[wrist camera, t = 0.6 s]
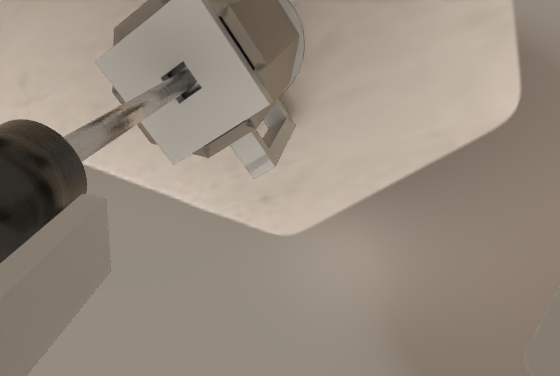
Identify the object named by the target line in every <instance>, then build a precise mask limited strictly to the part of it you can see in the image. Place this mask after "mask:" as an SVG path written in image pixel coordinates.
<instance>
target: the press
mask: <svg viewBox="0 0 560 376" xmlns="http://www.w3.org/2000/svg"><path fill="white" fill-rule="evenodd" d="M303 55H304V33H303V29H302V25H301V22H300V19H299V17H298V15H297V13H296V11H295V9H294V7H293V6H292V5H291V3H290V2H289V1H288V0H148V1H147V2H146V3H144V4H143V5H142V6H141V7H139V8H138V9H137V10H136V11H135V12H133V13H132V14H131V15H130V16H129V17H127V18H126V19H125V20H124V21H123V22H121V23H120V24H119V25H118V26H117V27H115V28H114V47H113V48H111V49H110V50H109V51H108V52H106V53H105V54H104V55H103V56H101V57H100V58H99V59H98V60H96V61H95V62H96V64H97V65H98V66H99V68H100V69H101V70H102V72H103V73H104V74H105V76H106V77H107V78H108V80H109V81H110V82H111V83H112V85H113V88H112V92H113V94H114V95H115V96H116V98H117V99H118V100H119V102H120V103H121V104H124V103H126V102H128V101H129V100H131V99H133V98H135V97H137V96H138V95H140V94H142V93H144V92H146V91H147V90H149V89H151V88H153V87H154V86H156V85H158V84H160V83H162V82H163V81H165V80H167V79H169V77H168V76H167V74H168V73H169V72H171V71H172V70H173V69H175V68H176V67H177V66H179V65H180V64H182V63H183V62H184V63H185V64H186V66H187V67H188V69H189V70H190V71H191V73H192V74H193V76H194V77H195V79H196V80H197V81H198V83H199V84H200V86H201V87H202V88H201V89H200V90H198V91H197V92H195V93H194V94H192V95H191V96H189V97H188V98H187V99H185V100H184V98H183V97H182V95H180V96H178V97H177V98H175V99H174V100H172V101H171V102H169V103H168V104H166V105H165V106H163V107H162V108H160V109H159V110H157V111H156V112H154V113H153V114H152V115H150V116H149V117H147V118H146V119H144V120H143V121H141V122H140V123H138V124H137V125H138V127H139V128H140V129H141V131H142V132H143V133H144V134H145V136H146V137H147V138H148V140H149V141H150V142H151V143H152V144H156V145H158V146H159V147H160V148H161V149H162V151H163V152H164V153H165V155H166V156H167V157H168V159H169V160H170V161H171V163H172V164H173V165H174V164H176V163H177V162H179V161H181V160H182V159H184V158H185V157H187V156H189V155H190V154H195V155H199V156H203V157H207V158H209V157H211V156H212V155H214V154H216V153H217V152H219V151H220V150H222V149H224V148H225V147H227V146H229V145H230V146H231V148H232V149H233V150H234V152H235V153H236V155H237V156H238V157H239V159H240V160H241V162H242V163H243V165H244V166H245V167H246V169H247V170H248V172H249V173H250V174H251V176H252V177H253V179H255V178H256V177H258V176H260V175H262V174H264V173H265V172H267V171H269V170H271V169H273V168H274V167H276V165H277V163H278V161H279V159H280V156H281V154H282V152H283V150H284V148H285V146H286V144H287V142H288V140H289V138H290V136H291V134H292V132H293V130H294V128H295V126H296V125H295V123H294V122H293V120H292V119H291V117H290V115H289V114H288V112H287V111H286V109H285V108H284V106H283V105H282V103H281V102H280V100H279V99H278V98H279V97H280V95H281V94H282V93H283V92H284V91H285V90H286V89H287V88H288V87H289V86H290V85H291V83H292V82H293V80H294V79H295V77H296V75H297V74H298V72H299V69H300V67H301V64H302V60H303ZM262 120H264V122H265V123H266V125H267V126H268V128H269V129H268V131H267V132H266V134H265V136H264V137H263V139H262V138H261V136H260V135H259V133H258V132H257V131H256V129H257V127H258V126H259V124H260V123H261V122H262Z"/></svg>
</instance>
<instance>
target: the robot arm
mask: <svg viewBox="0 0 560 376" xmlns="http://www.w3.org/2000/svg"><path fill="white" fill-rule="evenodd" d="M110 272H111V260H110V245H109V230H108V215H107V200H106V198H103V197H97V196H92V195H87V194H81V195H80V196H79V197H78V198H77V199H76V200H74V201H73V202H72V203H71V204H70V205H69V206H67V207H66V208H65V209H64V210H63V211H61V212H60V213H59V214H58V215H57V216H56V217H54V218H53V219H52V220H51V221H50V222H49V223H47V224H46V225H45V226H44V227H43V228H41V229H40V230H39V231H38V232H37V233H36V234H34V235H33V236H32V237H31V238H30V239H29V240H27V241H26V242H25V243H24V244H23V245H22V246H20V247H19V248H18V249H17V250H16V251H14V252H13V253H12V254H11V255H10V256H9V257H7V258H6V259H5V260H4V261H3V262H2V263H0V376H27V375H28V374H29V373H30V371H31V370H32V369H33V368H34V366H35V365H36V364H37V363H38V361H39V360H40V359H41V358H42V356H43V355H44V354H45V353H46V351H47V350H48V349H49V348H50V346H51V345H52V344H53V343H54V341H55V340H56V339H57V338H58V336H59V335H60V334H61V333H62V332H63V330H64V329H65V328H66V327H67V325H68V324H69V323H70V322H71V320H72V319H73V318H74V317H75V315H76V314H77V313H78V311H79V310H80V309H81V308H82V307H83V305H84V304H85V303H86V302H87V300H88V299H89V298H90V297H91V295H92V294H93V293H94V292H95V290H96V289H97V288H98V287H99V285H100V284H101V283H102V282H103V280H104V279H105V278H106V277H107V276H108V274H109V273H110ZM522 358H523V360H524V363H525V366H526V368H527V371H528V374H529V376H560V286H559V287H558V289H557V290H556V293H555V295H554V296H553V298H552V300H551V302H550V304H549V306H548V308H547V310H546V312H545V314H544V316H543V318H542V320H541V322H540V324H539V326H538V328H537V330H536V332H535V334H534V336H533V338H532V339H531V341H530V343H529V346H528V347H527V349H526V351H525V354H524V355H523V357H522Z"/></svg>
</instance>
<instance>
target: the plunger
mask: <svg viewBox="0 0 560 376" xmlns="http://www.w3.org/2000/svg"><path fill="white" fill-rule="evenodd" d="M167 76H168V77H169V79H167V80H165V81H163V82H162V83H160V84H158V85H156V86H154V87H153V88H151V89H149V90H147V91H146V92H144V93H142V94H140V95H138V96H137V97H135V98H133V99H131V100H129V101H128V102H126V103H124V104H122V105H120V106H119V107H117V108H115V109H113V110H111V111H110V112H108V113H106V114H104V115H102V116H101V117H99V118H97V119H95V120H93V121H92V122H90V123H88V124H86V125H84V126H83V127H81V128H79V129H77V130H75V131H74V132H72V133H70V134H68V135H66V136H65V137H62V136H61V135H60V134H58V133H57V132H56V131H54V130H53V129H51V128H49V127H48V126H45V125H43V124H41V123H38V122H35V121H31V120H22V119H19V120H12V121H8V122H5V123H3V124H1V125H0V263H2V262H3V261H4V260H5V259H6V258H7V257H9V256H10V255H11V254H12V253H13V252H14V251H16V250H17V249H18V248H19V247H20V246H22V245H23V244H24V243H25V242H26V241H27V240H29V239H30V238H31V237H32V236H33V235H34V234H36V233H37V232H38V231H39V230H40V229H41V228H43V227H44V226H45V225H46V224H47V223H49V222H50V221H51V220H52V219H53V218H54V217H56V216H57V215H58V214H59V213H60V212H61V211H63V210H64V209H65V208H66V207H67V206H69V205H70V204H71V203H72V202H73V201H74V200H76V199H77V198H78V197H79V196H80V195H81V194H86V191H87V180H86V174H85V170H84V167H83V164H82V161H83V160H85V159H86V158H88V157H89V156H91V155H92V154H94V153H95V152H97V151H98V150H100V149H101V148H103V147H104V146H105V145H107V144H108V143H110V142H111V141H113V140H114V139H116V138H117V137H119V136H120V135H122V134H123V133H125V132H126V131H128V130H129V129H131V128H132V127H134V126H135V125H137V124H138V123H140V122H141V121H143V120H144V119H146V118H147V117H149V116H150V115H152V114H153V113H154V112H156V111H157V110H159V109H160V108H162V107H163V106H165V105H166V104H168V103H169V102H171V101H172V100H174V99H175V98H177V97H178V96H180V95H182V97H183V98H184V100H185V99H187V98H188V97H189V96H191V95H192V94H194V93H195V92H197V91H198V90H200V89H201V88H202V87H201V86H200V84H199V83H198V81H197V80H196V79H195V77H194V76H193V74H192V73H191V71H190V70H189V69H188V67H187V66H186V64H185V63H184V62H183V63H182V64H180V65H179V66H177V67H176V68H175V69H173V70H172V71H171V72H169V73H168V74H167Z"/></svg>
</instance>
